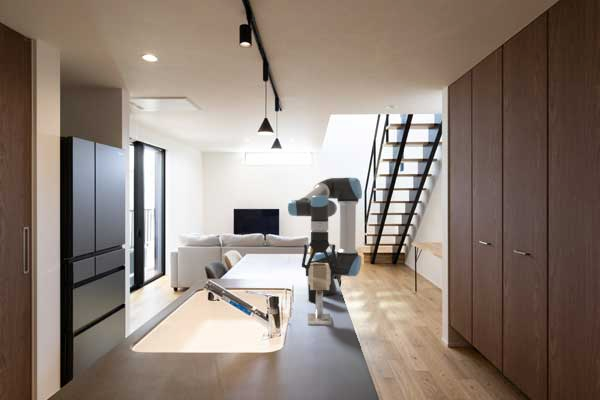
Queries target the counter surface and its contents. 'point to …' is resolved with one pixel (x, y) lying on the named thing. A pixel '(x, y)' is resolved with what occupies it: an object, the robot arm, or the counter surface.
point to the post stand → (319, 312)
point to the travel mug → (312, 292)
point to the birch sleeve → (319, 276)
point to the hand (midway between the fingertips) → (319, 283)
